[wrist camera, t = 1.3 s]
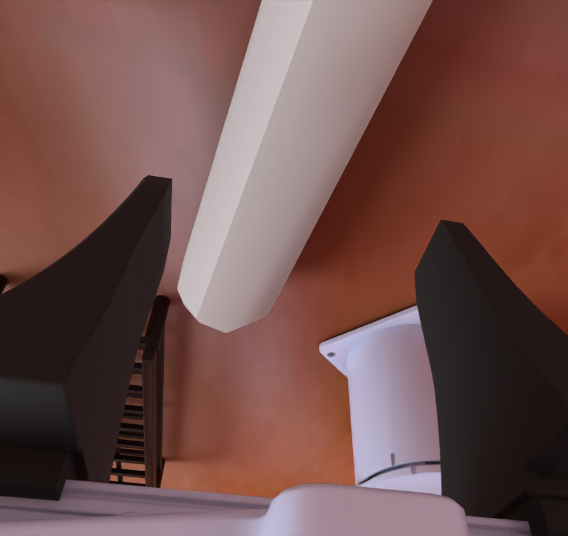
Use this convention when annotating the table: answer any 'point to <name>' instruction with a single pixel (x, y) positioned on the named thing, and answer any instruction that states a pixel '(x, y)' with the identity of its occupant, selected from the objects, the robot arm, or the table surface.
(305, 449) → the table surface
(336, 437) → the table surface
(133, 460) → the shoe rack
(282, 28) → the tube
